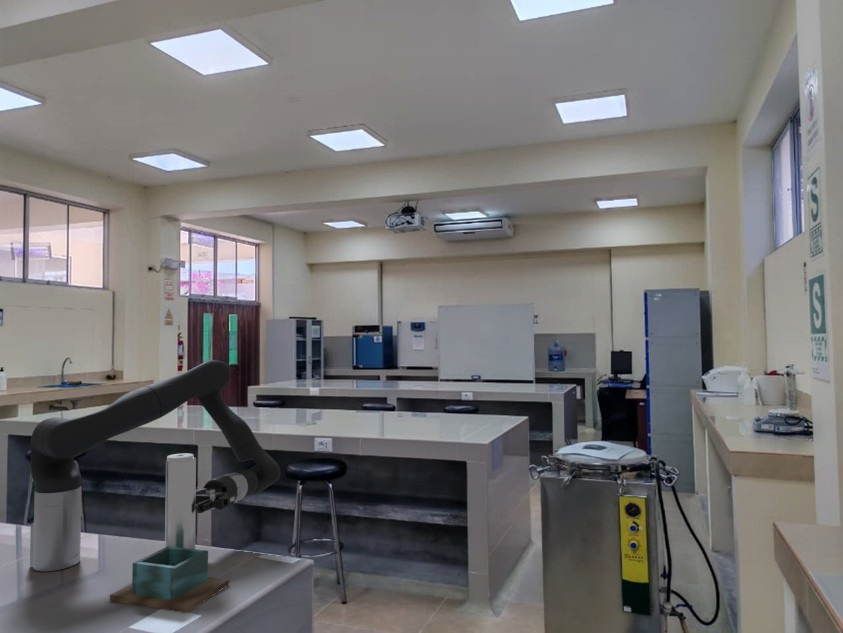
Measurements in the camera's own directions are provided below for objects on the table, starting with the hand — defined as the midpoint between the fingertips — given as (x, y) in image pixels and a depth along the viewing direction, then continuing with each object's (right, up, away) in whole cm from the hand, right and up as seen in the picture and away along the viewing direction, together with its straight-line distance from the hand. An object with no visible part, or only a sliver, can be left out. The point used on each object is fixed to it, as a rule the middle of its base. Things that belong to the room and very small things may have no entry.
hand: (182, 507), depth 136 cm
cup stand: (+4, -12, -16) cm, 20 cm away
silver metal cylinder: (0, -13, -1) cm, 13 cm away
